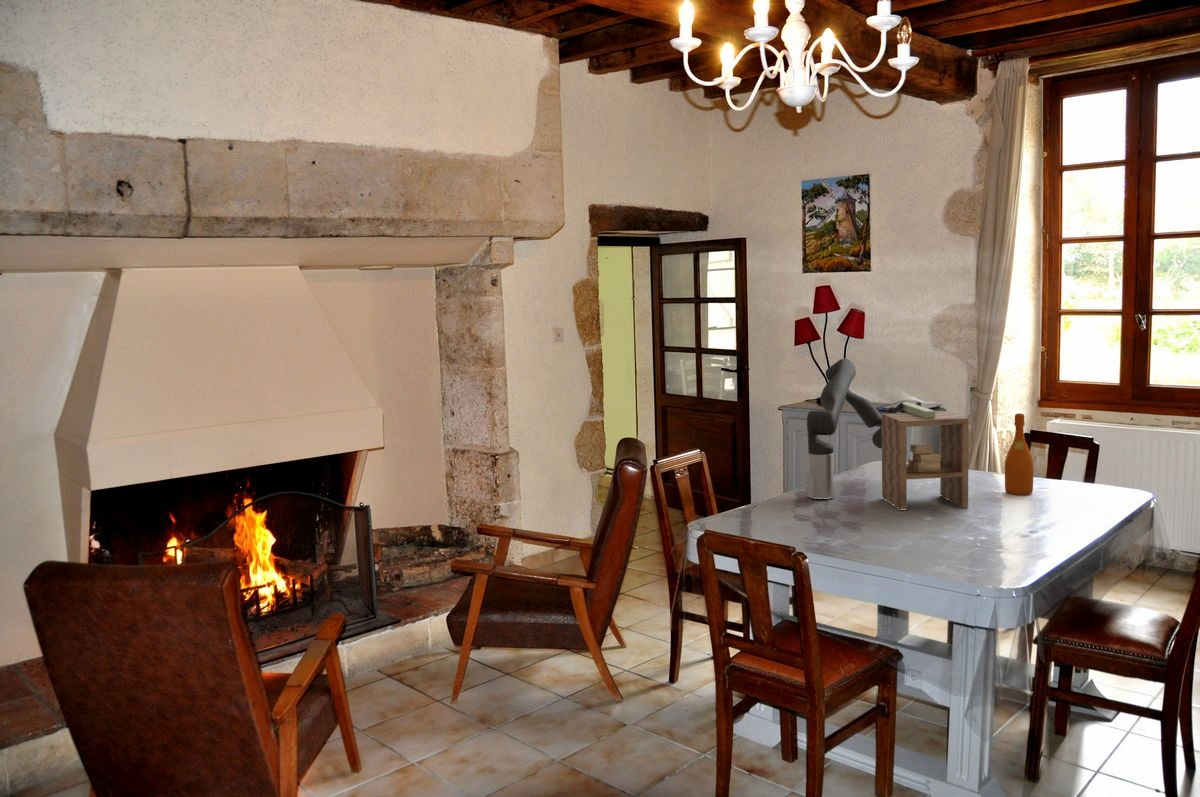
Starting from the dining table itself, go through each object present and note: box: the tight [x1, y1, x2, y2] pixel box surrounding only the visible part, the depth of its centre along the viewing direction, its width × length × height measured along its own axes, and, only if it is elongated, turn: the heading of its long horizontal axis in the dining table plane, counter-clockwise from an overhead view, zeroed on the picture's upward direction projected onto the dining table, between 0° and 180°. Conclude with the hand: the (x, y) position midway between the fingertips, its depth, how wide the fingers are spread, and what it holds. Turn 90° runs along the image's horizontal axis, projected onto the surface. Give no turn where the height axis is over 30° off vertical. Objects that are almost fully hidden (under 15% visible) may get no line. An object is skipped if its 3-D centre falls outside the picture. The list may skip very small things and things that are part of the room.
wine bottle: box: [1004, 412, 1035, 496], centre depth 353 cm, size 10×10×30 cm
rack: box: [881, 410, 970, 510], centre depth 343 cm, size 20×24×32 cm
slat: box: [902, 401, 936, 418], centre depth 348 cm, size 26×4×2 cm, turn 2°
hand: (910, 404), depth 354 cm, fingers open, 5 cm apart
